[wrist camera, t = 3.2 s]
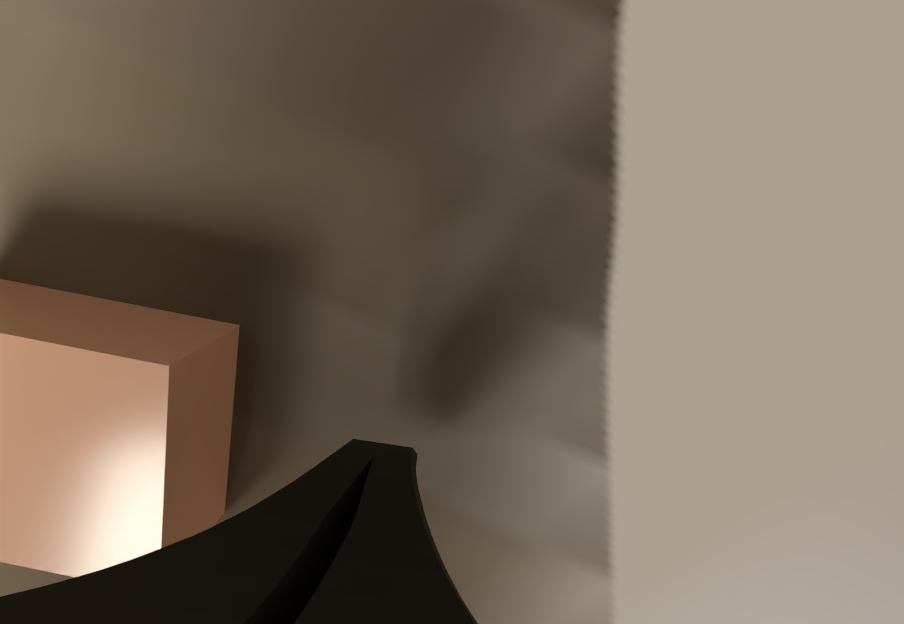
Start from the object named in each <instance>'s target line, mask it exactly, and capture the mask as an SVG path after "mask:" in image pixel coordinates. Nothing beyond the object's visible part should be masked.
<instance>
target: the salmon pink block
mask: <svg viewBox="0 0 904 624" xmlns="http://www.w3.org/2000/svg"><path fill="white" fill-rule="evenodd" d="M239 327H240V325H237V324H231V323H226V322H221V321H216V320H211V319H206V318H200V317H195V316H190V315H185V314H180V313H175V312H169V311H164V310H159V309H154V308H149V307H144V306H138V305H133V304H128V303H123V302H118V301H113V300H107V299H102V298H97V297H92V296H87V295H82V294H76V293H71V292H66V291H61V290H56V289H51V288H46V287H40V286H35V285H30V284H25V283H20V282H15V281H9V280H4V279H0V562H3V563H8V564H13V565H18V566H23V567H28V568H33V569H37V570H42V571H47V572H52V573H57V574H62V575H66V576H71V577H79V576H82V575H85V574H89V573H92V572H95V571H99V570H102V569H105V568H108V567H111V566H114V565H117V564H120V563H123V562H126V561H129V560H132V559H135V558H137V557H140V556H143V555H145V554H148V553H150V552H153V551H156V550H158V549H161V548H163V547H166V546H168V545H171V544H173V543H176V542H178V541H181V540H183V539H186V538H188V537H191V536H193V535H196V534H198V533H200V532H202V531H205V530H207V529H209V528H211V527H213V526H214V525H215V524H216V523H217V521H218V520H219V519H220V518H221V516H222V515H223V514H224V513H225V504H226V491H227V478H228V466H229V453H230V441H231V428H232V415H233V403H234V390H235V378H236V365H237V352H238V340H239Z"/></svg>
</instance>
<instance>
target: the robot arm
mask: <svg viewBox="0 0 904 624" xmlns="http://www.w3.org/2000/svg"><path fill="white" fill-rule="evenodd" d="M416 462H417V453H416V452H415V450H414V449H413V448H410V447H403V446H397V445H390V444H383V443H376V442H370V441H363V440H356V439H353V440H351V441H350V442H348V443H347V444H346V445H344V446H343V447H341V448H340V449H339V450H337V451H336V452H334V453H333V454H332V455H330V456H329V457H328V458H326V459H325V460H323V461H322V462H321V463H319V464H318V465H317V466H315V467H314V468H312V469H311V470H309V471H308V472H307V473H305V474H304V475H302V476H301V477H299V478H298V479H296V480H295V481H293V482H292V483H290V484H289V485H287V486H285V487H284V488H282V489H281V490H279V491H277V492H276V493H274V494H272V495H271V496H269V497H267V498H266V499H264V500H262V501H261V502H259V503H258V504H256V505H254V506H252V507H251V508H249V509H247V510H245V511H243V512H241V513H239V514H237V515H236V516H234V517H232V518H230V519H228V520H225V521H223V522H221V523H219V524H217V525H215V526H213V527H211V528H209V529H207V530H205V531H202V532H200V533H198V534H196V535H193V536H191V537H188V538H186V539H183V540H181V541H178V542H176V543H173V544H171V545H168V546H166V547H163V548H161V549H158V550H156V551H153V552H150V553H148V554H145V555H143V556H140V557H137V558H135V559H132V560H129V561H126V562H123V563H120V564H117V565H114V566H111V567H108V568H105V569H102V570H99V571H95V572H92V573H89V574H85V575H82V576H79V577H75V578H72V579H69V580H65V581H62V582H58V583H54V584H51V585H47V586H43V587H39V588H35V589H31V590H27V591H23V592H18V593H14V594H10V595H6V596H2V597H0V624H478V623H477V622H476V620H475V619H474V617H473V616H472V614H471V613H470V611H469V609H468V608H467V606H466V605H465V603H464V602H463V600H462V599H461V597H460V595H459V593H458V591H457V589H456V588H455V586H454V584H453V582H452V580H451V578H450V576H449V574H448V572H447V570H446V568H445V566H444V564H443V562H442V560H441V557H440V555H439V553H438V550H437V548H436V545H435V543H434V540H433V538H432V535H431V532H430V529H429V526H428V524H427V520H426V517H425V514H424V510H423V506H422V502H421V498H420V494H419V490H418V485H417V477H416Z"/></svg>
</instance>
